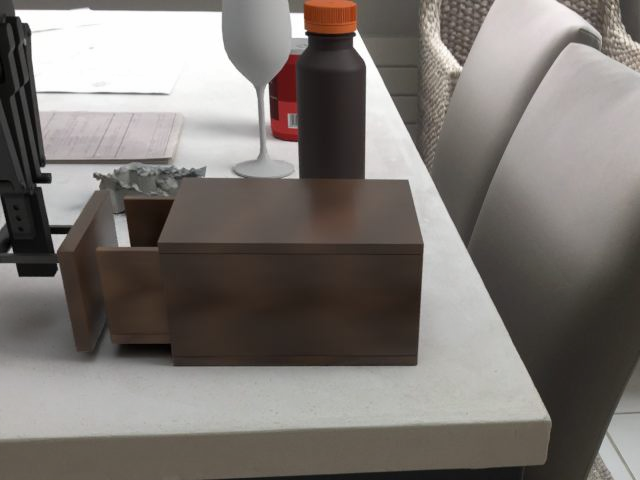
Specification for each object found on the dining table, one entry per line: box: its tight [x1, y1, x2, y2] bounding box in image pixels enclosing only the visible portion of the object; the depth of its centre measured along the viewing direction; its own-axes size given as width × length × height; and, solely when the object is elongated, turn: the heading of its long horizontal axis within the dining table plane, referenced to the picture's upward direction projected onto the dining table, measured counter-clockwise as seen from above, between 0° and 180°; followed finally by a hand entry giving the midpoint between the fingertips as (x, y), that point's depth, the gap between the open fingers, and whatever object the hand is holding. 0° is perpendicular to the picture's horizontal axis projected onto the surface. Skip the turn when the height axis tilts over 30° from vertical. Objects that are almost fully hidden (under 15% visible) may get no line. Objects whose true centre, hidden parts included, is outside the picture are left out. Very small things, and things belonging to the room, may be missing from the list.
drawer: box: [0, 189, 176, 352], centre depth 70 cm, size 24×13×8 cm, turn 93°
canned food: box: [267, 37, 308, 142], centre depth 117 cm, size 8×8×11 cm
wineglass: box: [221, 0, 295, 178], centre depth 101 cm, size 8×8×21 cm
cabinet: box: [157, 177, 425, 367], centre depth 71 cm, size 19×15×10 cm
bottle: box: [296, 0, 367, 179], centre depth 88 cm, size 7×7×20 cm
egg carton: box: [92, 161, 208, 214], centre depth 95 cm, size 11×8×4 cm
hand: (38, 272), depth 70 cm, fingers closed
